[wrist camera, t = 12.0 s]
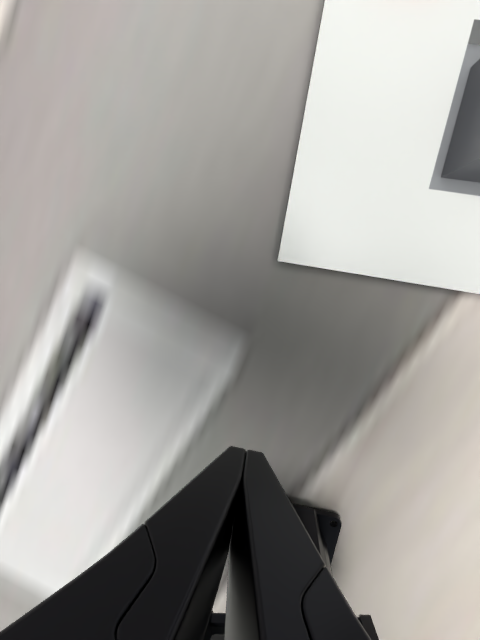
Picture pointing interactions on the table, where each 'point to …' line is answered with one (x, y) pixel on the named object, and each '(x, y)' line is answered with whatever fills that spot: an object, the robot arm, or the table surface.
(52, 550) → the table surface
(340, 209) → the socket plate
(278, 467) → the table surface
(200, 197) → the table surface
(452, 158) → the plug
